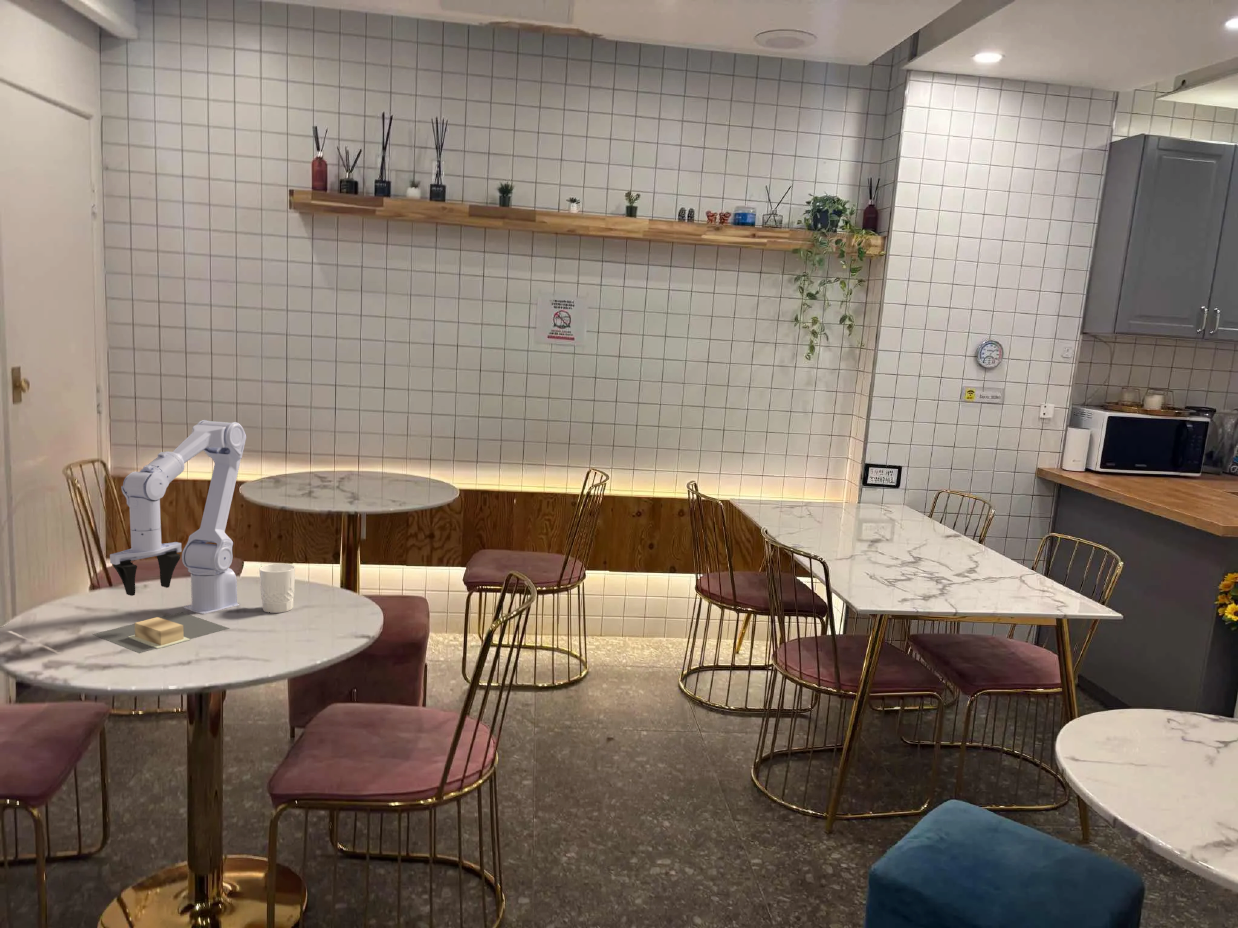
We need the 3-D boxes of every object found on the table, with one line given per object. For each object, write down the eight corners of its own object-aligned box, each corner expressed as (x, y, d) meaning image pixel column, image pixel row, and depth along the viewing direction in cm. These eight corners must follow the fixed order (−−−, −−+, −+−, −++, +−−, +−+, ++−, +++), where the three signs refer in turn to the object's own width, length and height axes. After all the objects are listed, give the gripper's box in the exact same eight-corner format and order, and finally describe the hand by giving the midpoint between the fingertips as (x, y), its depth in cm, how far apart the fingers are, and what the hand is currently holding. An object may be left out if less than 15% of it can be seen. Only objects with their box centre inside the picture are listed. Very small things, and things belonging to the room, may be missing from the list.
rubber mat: (182, 613, 208) (182, 611, 208) (231, 630, 198) (231, 627, 198) (92, 635, 191) (92, 633, 191) (140, 655, 181) (140, 652, 181)
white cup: (258, 614, 210) (257, 572, 208) (261, 604, 217) (261, 564, 216) (294, 613, 212) (293, 571, 210) (296, 603, 219) (296, 563, 218)
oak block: (183, 638, 190) (183, 625, 190) (161, 645, 186) (160, 631, 185) (157, 630, 195) (157, 616, 194) (135, 636, 190) (134, 622, 190)
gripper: (167, 520, 200) (169, 580, 202) (100, 531, 188) (103, 594, 190) (186, 524, 196) (188, 585, 198) (119, 536, 184) (122, 601, 186)
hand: (148, 590), depth 194 cm, fingers open, 7 cm apart
